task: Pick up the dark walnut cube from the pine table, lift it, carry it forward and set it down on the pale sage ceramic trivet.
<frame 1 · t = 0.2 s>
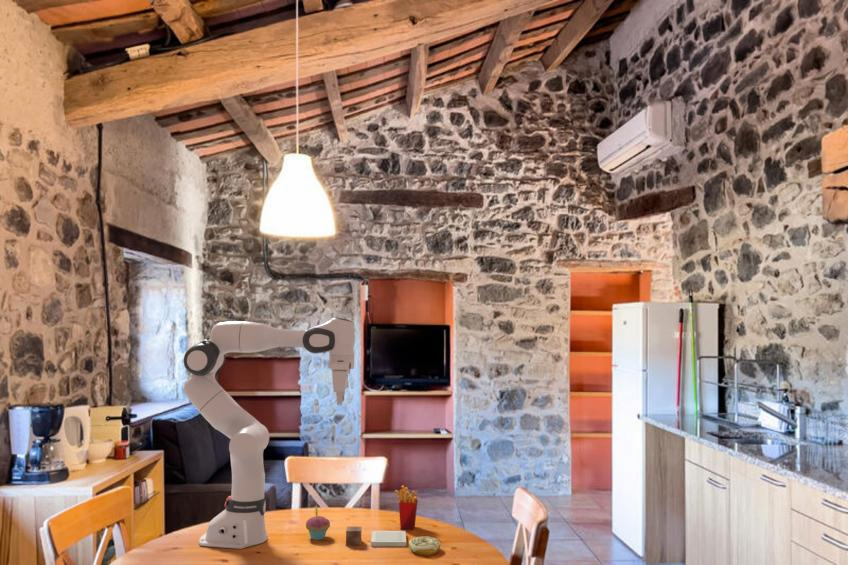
hand: (340, 403, 231), 47 cm above the table, fingers open, 8 cm apart
decorated donut: (424, 551, 219), on the table
trivet: (388, 540, 228), on the table
walnut cube: (353, 543, 225), on the table
cupcake: (317, 538, 230), on the table
french fries: (404, 529, 243), on the table
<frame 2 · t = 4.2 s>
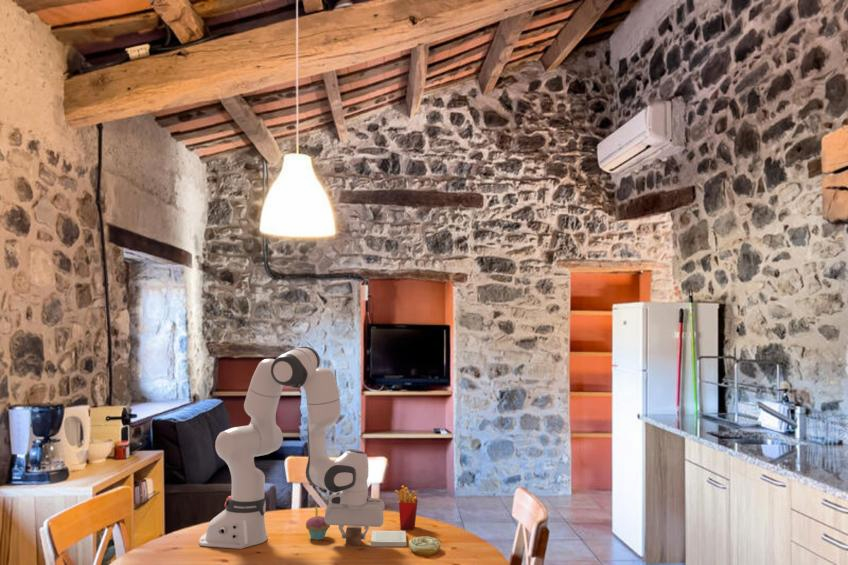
hand: (353, 538, 225), 2 cm above the table, fingers closed on walnut cube, 5 cm apart
walnut cube: (353, 543, 225), on the table, touching gripper
everything else where it was.
when the fingers open (5 cm above the table, at t = 9.6 s): walnut cube drops 1 cm, resting on trivet.
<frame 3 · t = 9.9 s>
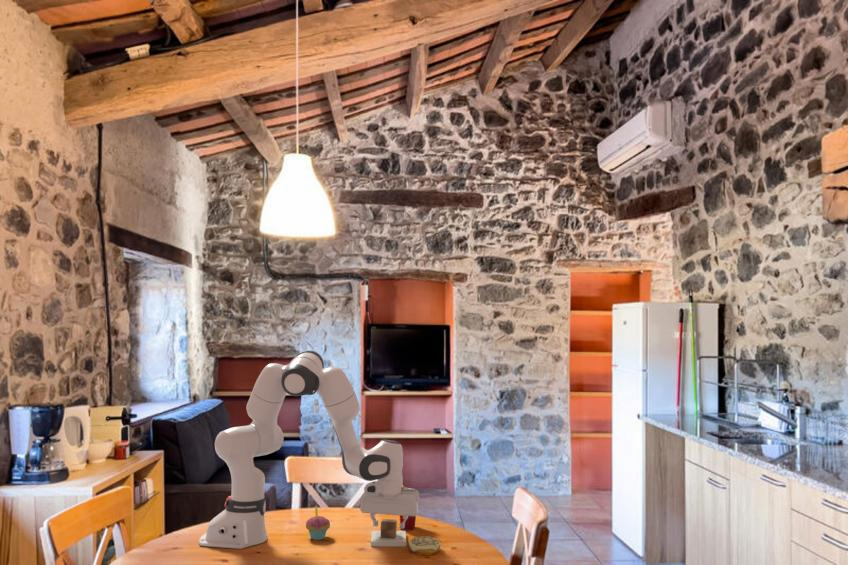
hand: (388, 527, 229), 5 cm above the table, fingers open, 8 cm apart
walnut cube: (388, 536, 228), point 2 cm above the table, touching trivet
everything else where it was.
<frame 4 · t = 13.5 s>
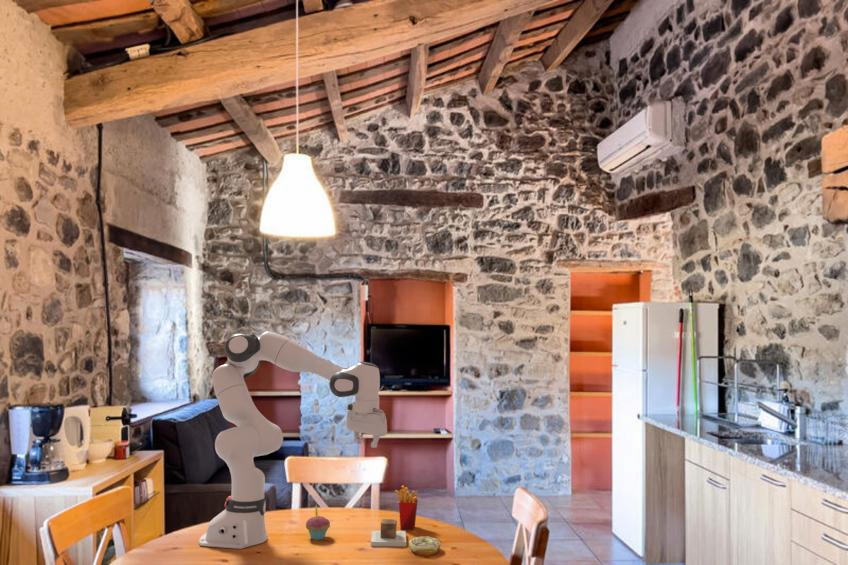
hand: (366, 445, 238), 31 cm above the table, fingers open, 8 cm apart
nothing on the table moved.
at the end: walnut cube inside the target area on the trivet (0.1 cm from its centre), point 1.6 cm above the trivet's base; walnut cube tilted 0°; the gripper is holding nothing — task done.
